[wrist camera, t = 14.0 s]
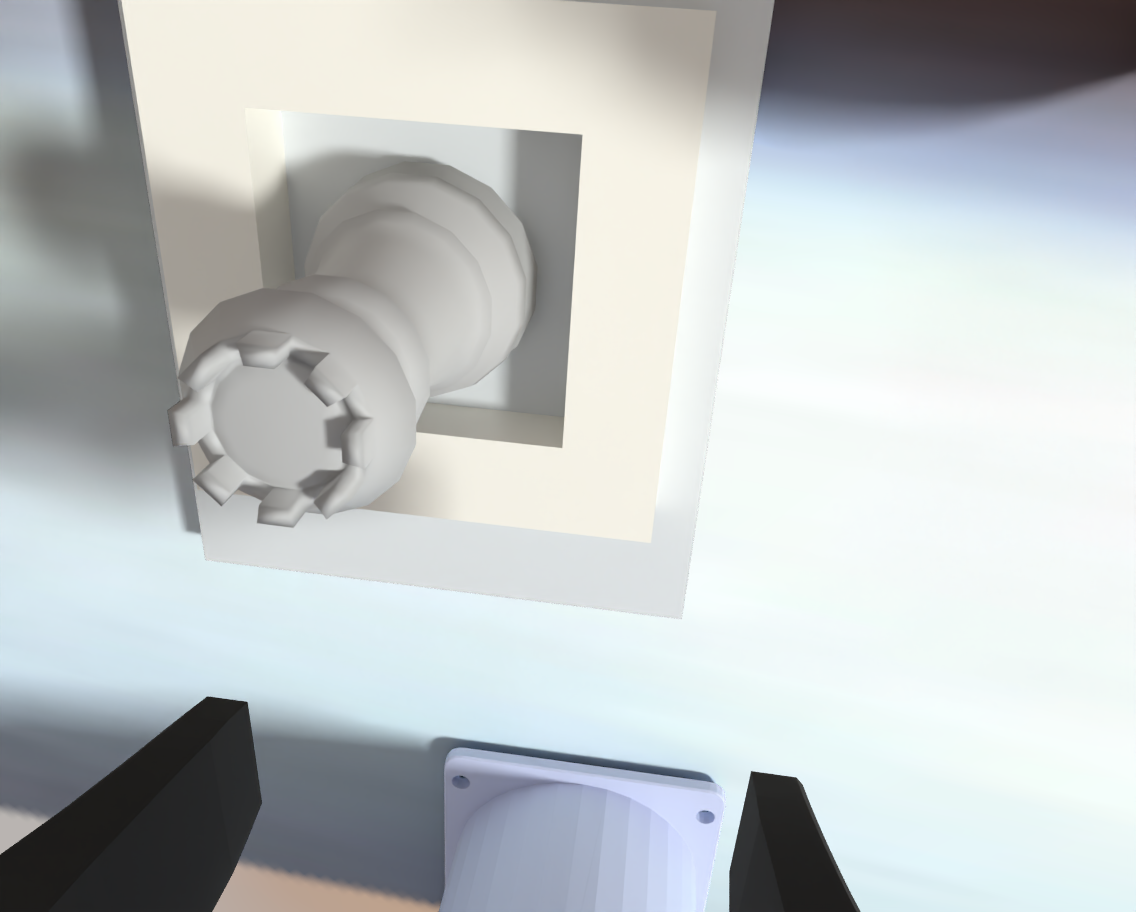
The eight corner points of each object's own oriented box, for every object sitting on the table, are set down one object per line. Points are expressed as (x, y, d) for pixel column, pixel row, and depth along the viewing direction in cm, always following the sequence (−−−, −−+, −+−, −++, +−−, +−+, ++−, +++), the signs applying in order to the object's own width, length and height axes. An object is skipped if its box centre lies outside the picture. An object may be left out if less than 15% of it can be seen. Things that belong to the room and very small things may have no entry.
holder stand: (681, 594, 22) (681, 660, 20) (223, 539, 23) (174, 595, 21) (797, -187, 14) (816, -223, 12) (115, -219, 15) (19, -259, 13)
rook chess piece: (407, 405, 19) (245, 633, 12) (285, 226, 18) (17, 366, 11) (582, 315, 18) (512, 512, 11) (465, 111, 16) (294, 185, 9)
